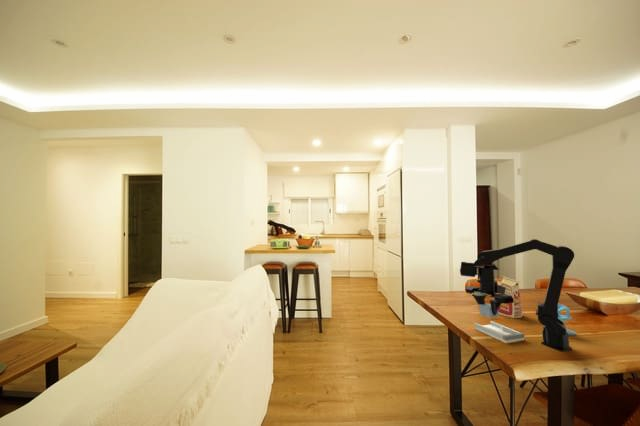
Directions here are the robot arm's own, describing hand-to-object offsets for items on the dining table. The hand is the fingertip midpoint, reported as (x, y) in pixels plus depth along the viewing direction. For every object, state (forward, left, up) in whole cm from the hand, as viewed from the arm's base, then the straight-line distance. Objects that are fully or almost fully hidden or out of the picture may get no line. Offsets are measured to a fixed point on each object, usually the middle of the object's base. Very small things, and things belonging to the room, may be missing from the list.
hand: (488, 313), depth 106 cm
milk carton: (+12, -29, -8) cm, 33 cm away
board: (-4, 0, -8) cm, 9 cm away
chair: (-9, -28, -8) cm, 31 cm away
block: (0, 0, -1) cm, 1 cm away
